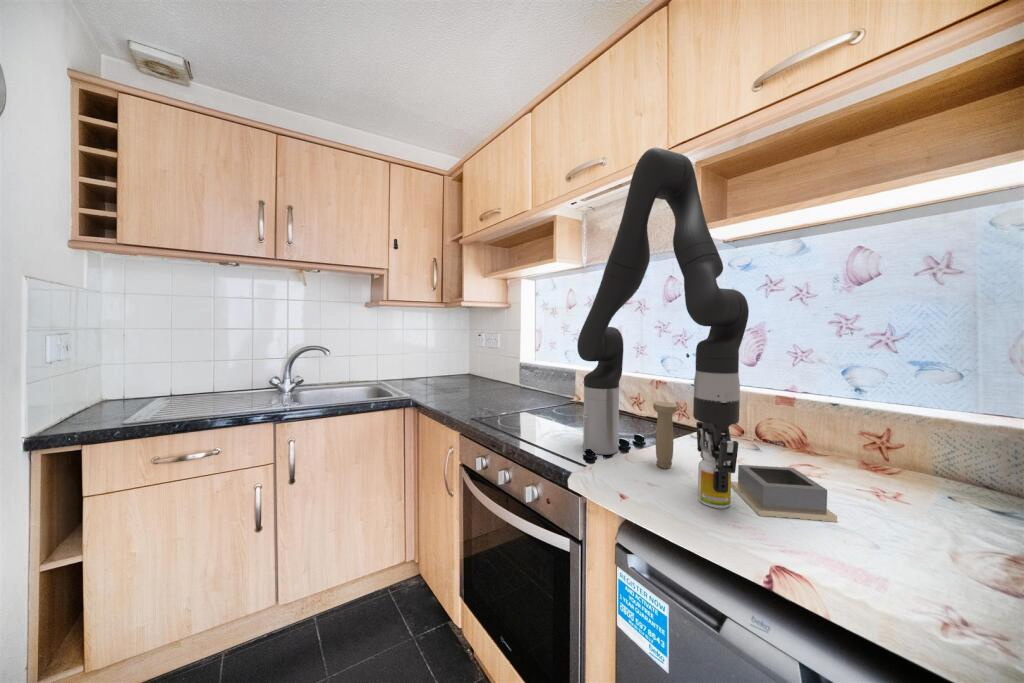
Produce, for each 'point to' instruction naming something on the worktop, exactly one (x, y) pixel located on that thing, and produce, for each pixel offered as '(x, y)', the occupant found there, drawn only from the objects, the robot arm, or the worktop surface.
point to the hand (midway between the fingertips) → (714, 484)
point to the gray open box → (782, 493)
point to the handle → (664, 433)
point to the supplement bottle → (711, 484)
